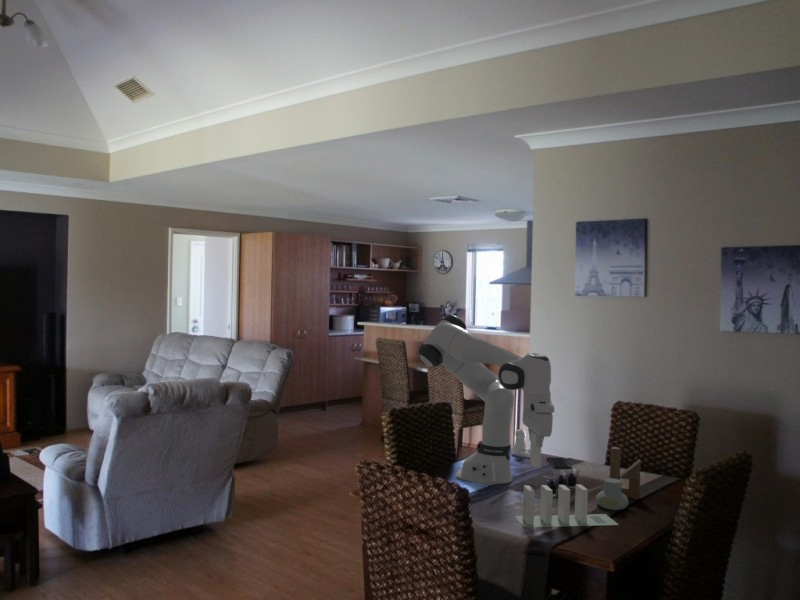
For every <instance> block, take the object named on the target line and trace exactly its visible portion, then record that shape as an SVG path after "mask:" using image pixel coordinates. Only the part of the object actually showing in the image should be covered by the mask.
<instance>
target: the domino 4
mask: <svg viewBox="0 0 800 600" xmlns="http://www.w3.org/2000/svg"><path fill="white" fill-rule="evenodd" d="M557 489H558V490H557V493H558V495H557V514H556V515H557V518H558V519H559V520H560V521H562V522H563V523H564V524H569V515H571V514H570V512H571V511H570V510H571V509H570V508H571V489H570V488H569V487H568V486H566V485H565V484H558V488H557Z"/></svg>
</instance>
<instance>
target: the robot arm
mask: <svg viewBox="0 0 800 600" xmlns="http://www.w3.org/2000/svg"><path fill="white" fill-rule="evenodd" d="M417 353H418V357H420V360H421V361H422V362H423V364H425V365H426V366H429V367H431V368H438V367H440V366H441V365H443V367H444V368H445V369H446V370H447V371H448V372H449V373H450V374H452V375H453V377H455V379H457V380H458V381H460V383H462V384H463V385H464V386H465V387H466V388H467V389H469V390H470V391H471V392H473V394H475V395H476V396H477V397H479V398H480V399H481V400H482V401H483V402H484V412H483V413H484V414H483V420H482V431H481V440H479V441H478V443H477V444H476V448H475V449H476V451H475V452H473V453H472V454H471V455H470V456H467V458H465V459H464V460H463V463H462V466H461V469H459V470H458V471H457V472H456V473H455V478H456V479H459V480H462V481H464V480H465V481H469V482H473V483H478V484H484V485H488V486H494V485H501V484H509V483H511V482H513V480H514V479H513V475H512V469H511V457H512V446H511V445H512V444H511V426H512V425H511V424H512V418H513V410H514V401H515V397H514V393H513V391H515V390H516V391H517V390H522V391H523V398H522V399H523V403H522V406H523V407H522V408H523V411H522V424H523V425H524V426H525V427H527V428H528V430H527V431H528V435H529V442H531V431H534V432H535V433H536V434H537V441H536V446H537V447H541V448H542V447H543V445H544V443H543V442H544V440H545V438H548V437H549V438H550V437H551V435H552V431H553V420H554V416H553V414H554V412H555V406H554V404H553V403H552V399H551V398H552V397H551V390H550V385H551V382H552V367H551V361H550V359H549V357H548V356H546V355H544V354H542V353H538V352H537V353H536V352H530V353H527V354H525V355H524V356H523V357H521V356H519V355H517V354H515V353H513V352H510V351H508V350H506V349H504V348H502V347H500V346H497V345H495V344H493V343H491V342H489V341H488V340H486V339H483V338H482V337H480V336H478V335H476V334H474V333H473V332H471V331H469V330H467V325H466V323H465V322H464V320H462V318H460V317H459V316H457V315H454V314H450V313H449V314H447V315H445V317H443V318H442V319H441V321H440V322H438V324H436V326H435V327H434V328H433V329H431V332H430V333H428V335H427V338H425V340H424V341H423V343H421V345H420V346H419V349H418V350H417ZM485 364H491V365H495V366H497V367H500V368H499V369H498V373H497V374H495V373H494V372H492V370H490V369H489V368H488V367H487V366H485ZM497 375H498V376H497Z"/></svg>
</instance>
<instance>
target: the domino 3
mask: <svg viewBox="0 0 800 600" xmlns="http://www.w3.org/2000/svg"><path fill="white" fill-rule="evenodd" d="M553 491H554V490H553V489H551V488H550V486H548V484H541V485H540V507H539V509H540V511H539V516H540V519H541V520H542V521H543V522H544V523H545V524H551V523H552V514H553Z"/></svg>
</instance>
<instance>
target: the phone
mask: <svg viewBox="0 0 800 600" xmlns="http://www.w3.org/2000/svg"><path fill="white" fill-rule="evenodd" d="M546 461H547V463H549V465H551V466H552V468H553V469H559V470H560V469H561V470H563V469H564V470H571V469H572V467H573V466H572V465H571V464H570V463H569V462H568V461H567V460H566V459H565V458H564V457H546Z"/></svg>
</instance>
